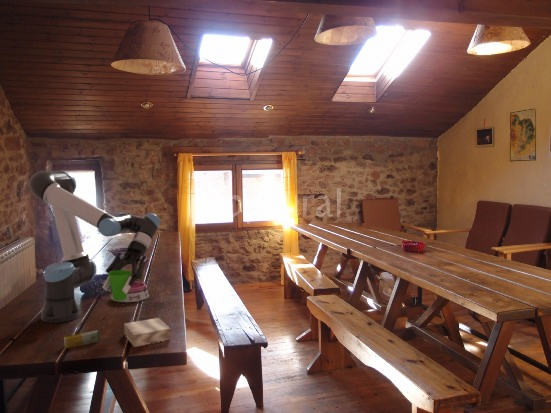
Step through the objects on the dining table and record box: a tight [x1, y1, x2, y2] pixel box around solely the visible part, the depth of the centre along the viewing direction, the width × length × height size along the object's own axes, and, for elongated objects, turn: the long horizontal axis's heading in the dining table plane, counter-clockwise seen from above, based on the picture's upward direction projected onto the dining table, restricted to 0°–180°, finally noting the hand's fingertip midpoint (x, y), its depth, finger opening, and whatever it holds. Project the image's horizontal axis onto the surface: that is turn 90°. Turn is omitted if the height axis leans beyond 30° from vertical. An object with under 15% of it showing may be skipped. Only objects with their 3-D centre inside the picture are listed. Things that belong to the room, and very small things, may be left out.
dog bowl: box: [110, 281, 150, 304], centre depth 234 cm, size 18×19×7 cm
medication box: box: [63, 329, 100, 349], centre depth 175 cm, size 12×3×4 cm, turn 127°
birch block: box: [123, 317, 171, 348], centre depth 183 cm, size 14×14×5 cm
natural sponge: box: [129, 265, 146, 282], centre depth 260 cm, size 9×9×10 cm
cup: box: [107, 269, 131, 301], centre depth 190 cm, size 9×9×11 cm
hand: (114, 290), depth 187 cm, fingers closed on cup, 9 cm apart
